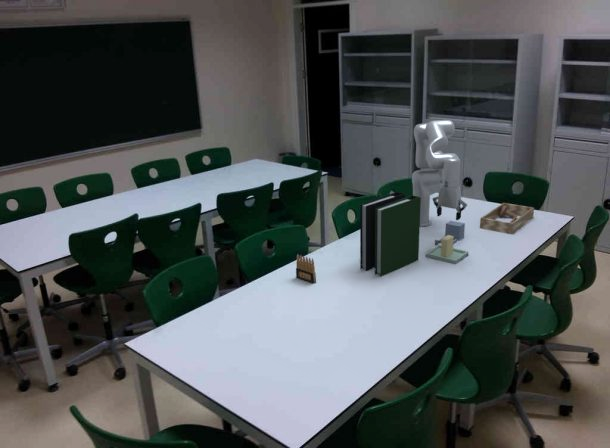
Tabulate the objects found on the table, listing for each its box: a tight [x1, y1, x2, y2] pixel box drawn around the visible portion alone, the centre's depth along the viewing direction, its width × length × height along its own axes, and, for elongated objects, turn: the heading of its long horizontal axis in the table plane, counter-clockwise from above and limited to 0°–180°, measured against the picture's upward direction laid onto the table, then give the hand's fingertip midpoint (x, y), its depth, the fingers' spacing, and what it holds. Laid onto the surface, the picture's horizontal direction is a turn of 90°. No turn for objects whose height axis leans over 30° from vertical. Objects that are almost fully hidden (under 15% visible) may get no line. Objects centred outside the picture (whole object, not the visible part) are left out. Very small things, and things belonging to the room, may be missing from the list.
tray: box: [424, 244, 469, 265], centre depth 264 cm, size 16×14×2 cm
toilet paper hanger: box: [498, 205, 518, 223], centre depth 308 cm, size 25×9×8 cm, turn 146°
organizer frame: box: [479, 202, 535, 235], centre depth 306 cm, size 18×34×6 cm, turn 140°
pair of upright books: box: [359, 191, 421, 278], centre depth 253 cm, size 27×15×32 cm, turn 132°
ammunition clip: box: [295, 253, 317, 284], centre depth 242 cm, size 11×2×12 cm, turn 48°
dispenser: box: [434, 220, 466, 246], centre depth 282 cm, size 8×18×8 cm, turn 140°
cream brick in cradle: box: [440, 235, 454, 257], centre depth 263 cm, size 3×7×9 cm, turn 140°
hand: (448, 217), depth 259 cm, fingers open, 9 cm apart
